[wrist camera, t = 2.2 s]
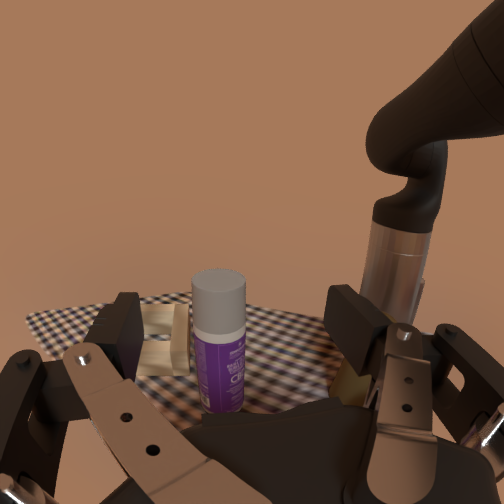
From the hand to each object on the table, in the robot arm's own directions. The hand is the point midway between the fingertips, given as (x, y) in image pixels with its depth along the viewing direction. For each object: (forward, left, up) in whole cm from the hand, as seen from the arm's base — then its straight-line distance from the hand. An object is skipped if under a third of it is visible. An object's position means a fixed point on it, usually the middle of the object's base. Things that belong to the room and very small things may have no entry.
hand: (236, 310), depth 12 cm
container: (0, -11, -19) cm, 22 cm away
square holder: (+9, -21, -19) cm, 30 cm away
